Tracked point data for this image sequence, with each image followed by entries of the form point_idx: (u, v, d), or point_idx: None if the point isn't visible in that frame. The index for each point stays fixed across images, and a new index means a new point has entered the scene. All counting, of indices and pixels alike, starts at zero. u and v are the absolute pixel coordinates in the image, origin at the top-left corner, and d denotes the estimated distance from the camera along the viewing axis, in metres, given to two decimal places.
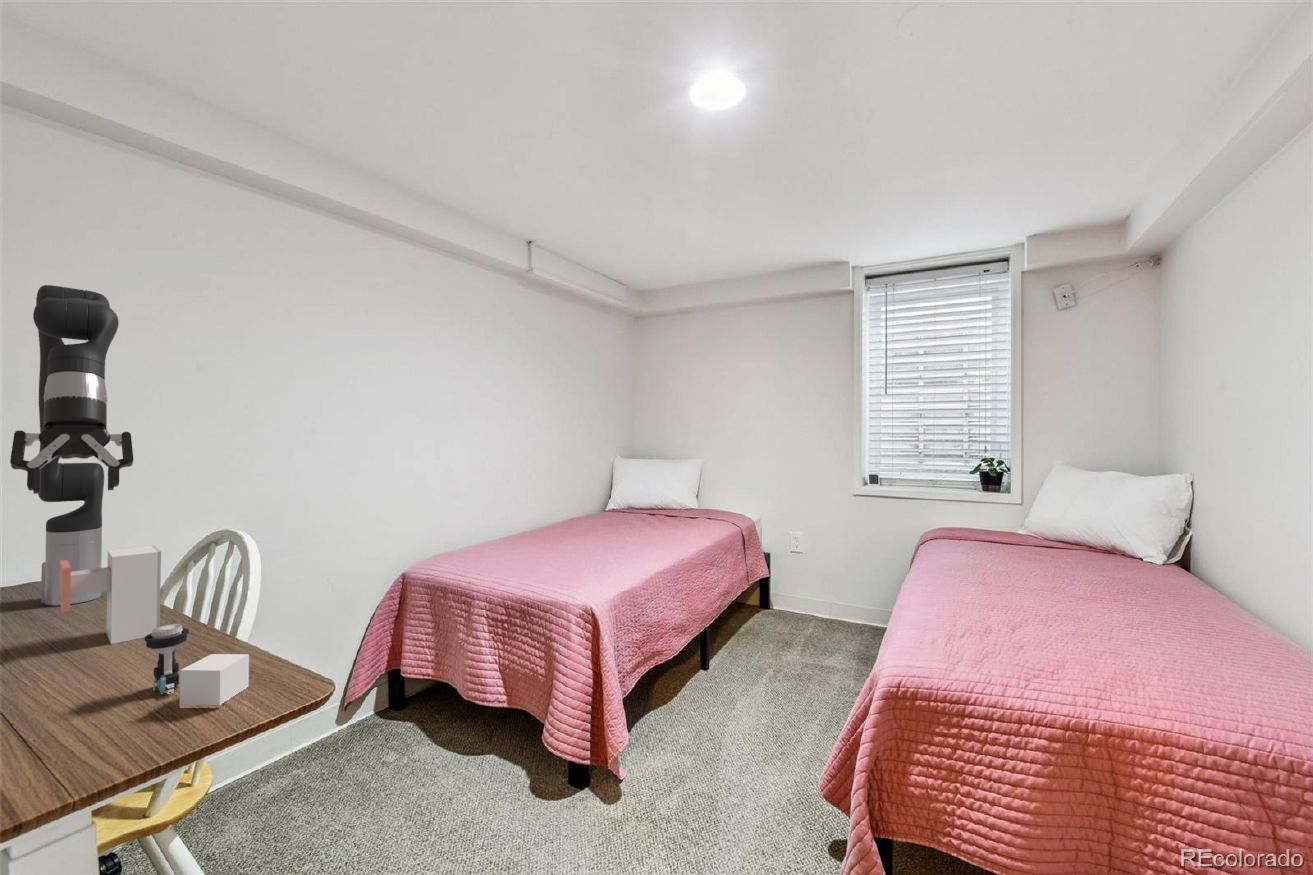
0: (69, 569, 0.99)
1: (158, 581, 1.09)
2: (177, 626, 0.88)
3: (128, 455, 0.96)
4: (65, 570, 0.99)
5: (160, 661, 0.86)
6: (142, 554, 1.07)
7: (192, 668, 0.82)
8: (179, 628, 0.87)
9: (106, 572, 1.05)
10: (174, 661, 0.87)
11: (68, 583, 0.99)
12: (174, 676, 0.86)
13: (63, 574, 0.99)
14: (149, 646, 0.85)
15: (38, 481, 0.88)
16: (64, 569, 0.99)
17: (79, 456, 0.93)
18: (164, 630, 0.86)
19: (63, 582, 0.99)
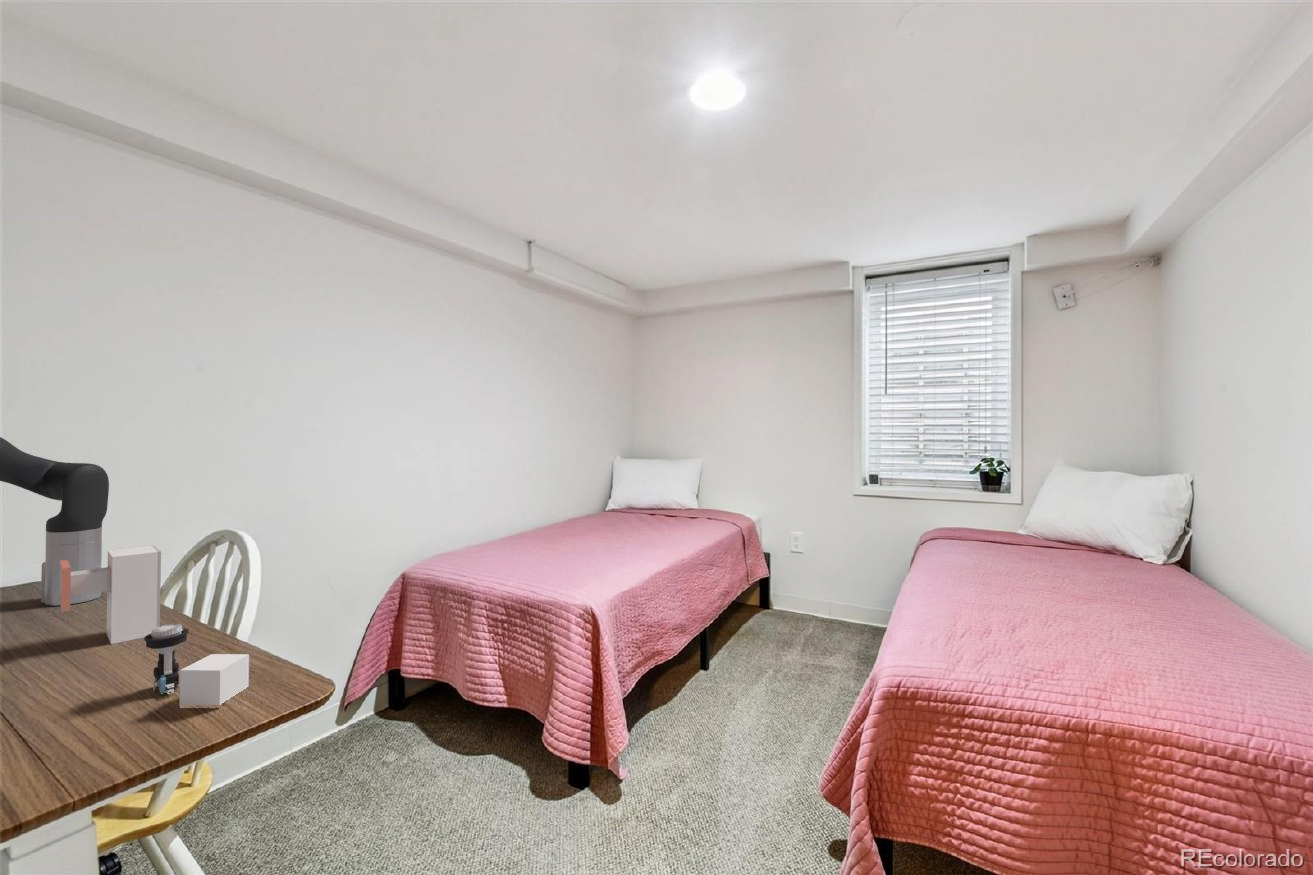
0: (69, 569, 0.99)
1: (158, 581, 1.09)
2: (177, 626, 0.88)
3: None
4: (65, 570, 0.99)
5: (160, 661, 0.86)
6: (142, 554, 1.07)
7: (192, 667, 0.82)
8: (179, 628, 0.87)
9: (106, 572, 1.05)
10: (174, 661, 0.87)
11: (68, 583, 0.99)
12: (174, 676, 0.86)
13: (63, 574, 0.99)
14: (149, 646, 0.85)
15: None
16: (64, 569, 0.99)
17: None
18: (164, 630, 0.86)
19: (63, 582, 0.99)
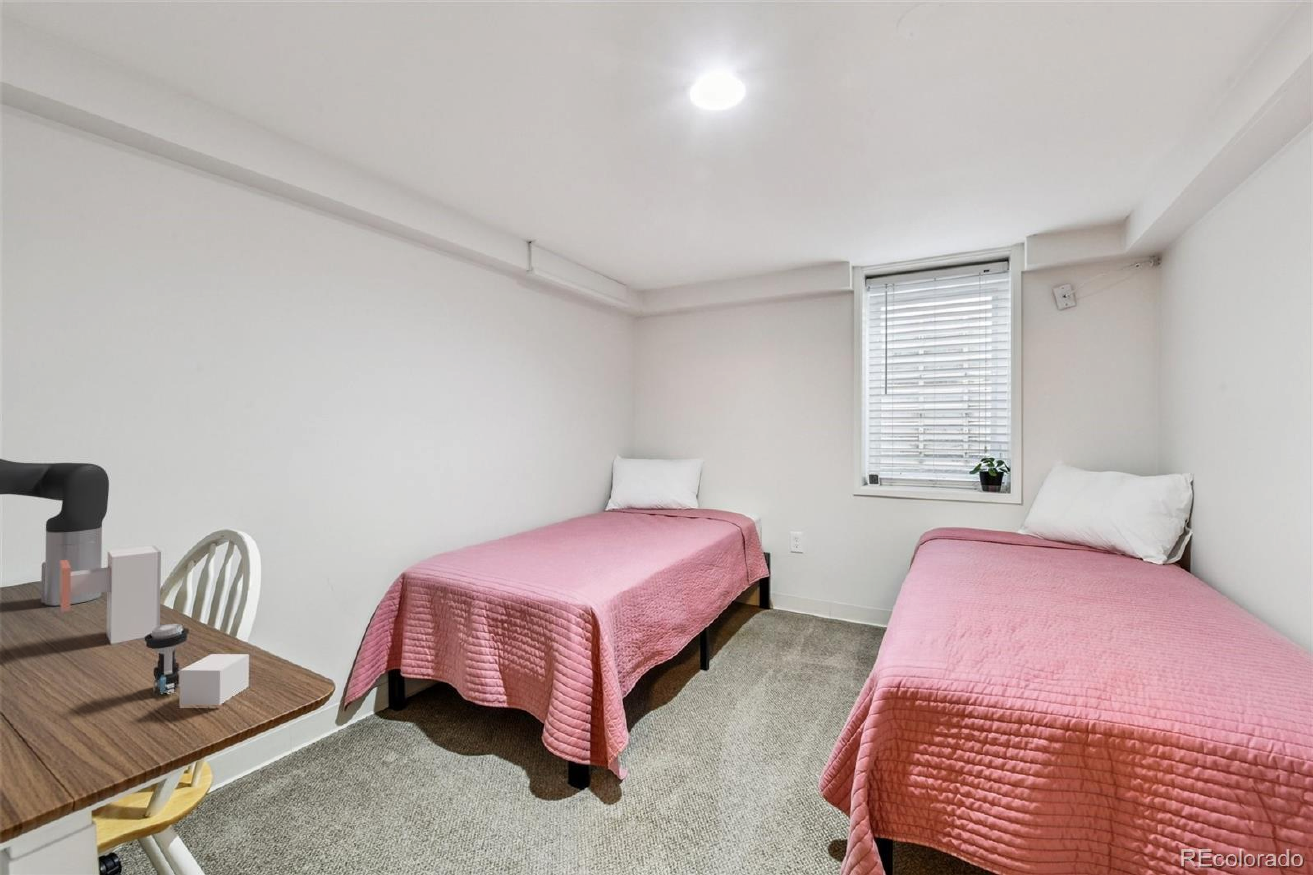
0: (69, 569, 0.99)
1: (158, 581, 1.09)
2: (177, 626, 0.88)
3: None
4: (65, 570, 0.99)
5: (160, 661, 0.86)
6: (142, 554, 1.07)
7: (192, 668, 0.82)
8: (179, 628, 0.87)
9: (106, 572, 1.05)
10: (174, 661, 0.87)
11: (68, 583, 0.99)
12: (174, 676, 0.86)
13: (63, 574, 0.99)
14: (149, 646, 0.85)
15: None
16: (64, 569, 0.99)
17: None
18: (164, 630, 0.86)
19: (63, 582, 0.99)
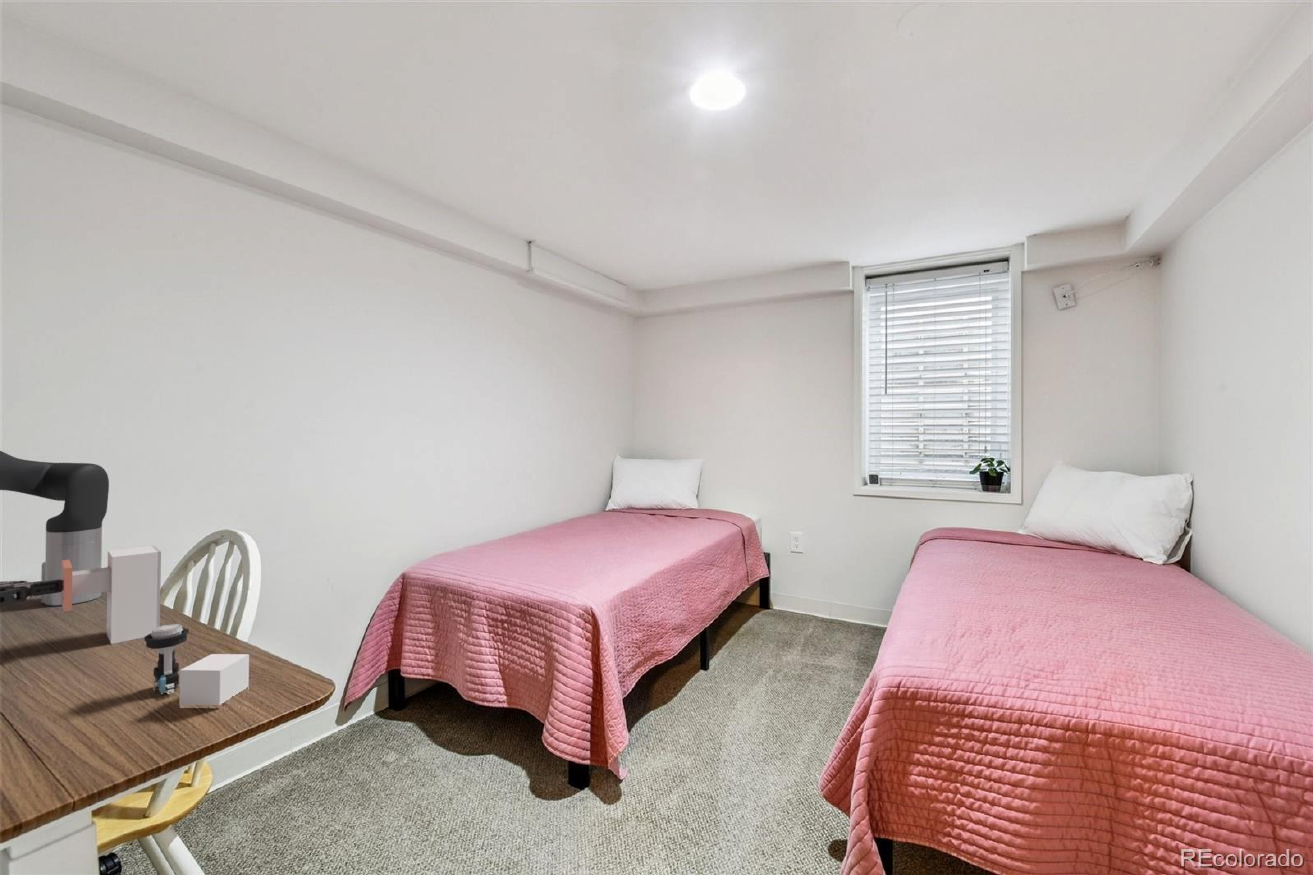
0: (71, 569, 1.00)
1: (158, 581, 1.09)
2: (177, 626, 0.88)
3: None
4: (67, 570, 0.99)
5: (160, 661, 0.86)
6: (142, 554, 1.07)
7: (192, 667, 0.82)
8: (179, 628, 0.87)
9: (108, 572, 1.05)
10: (174, 661, 0.87)
11: (70, 583, 1.00)
12: (174, 676, 0.86)
13: (65, 574, 0.99)
14: (149, 646, 0.85)
15: None
16: (66, 569, 0.99)
17: None
18: (164, 630, 0.86)
19: (65, 582, 0.99)
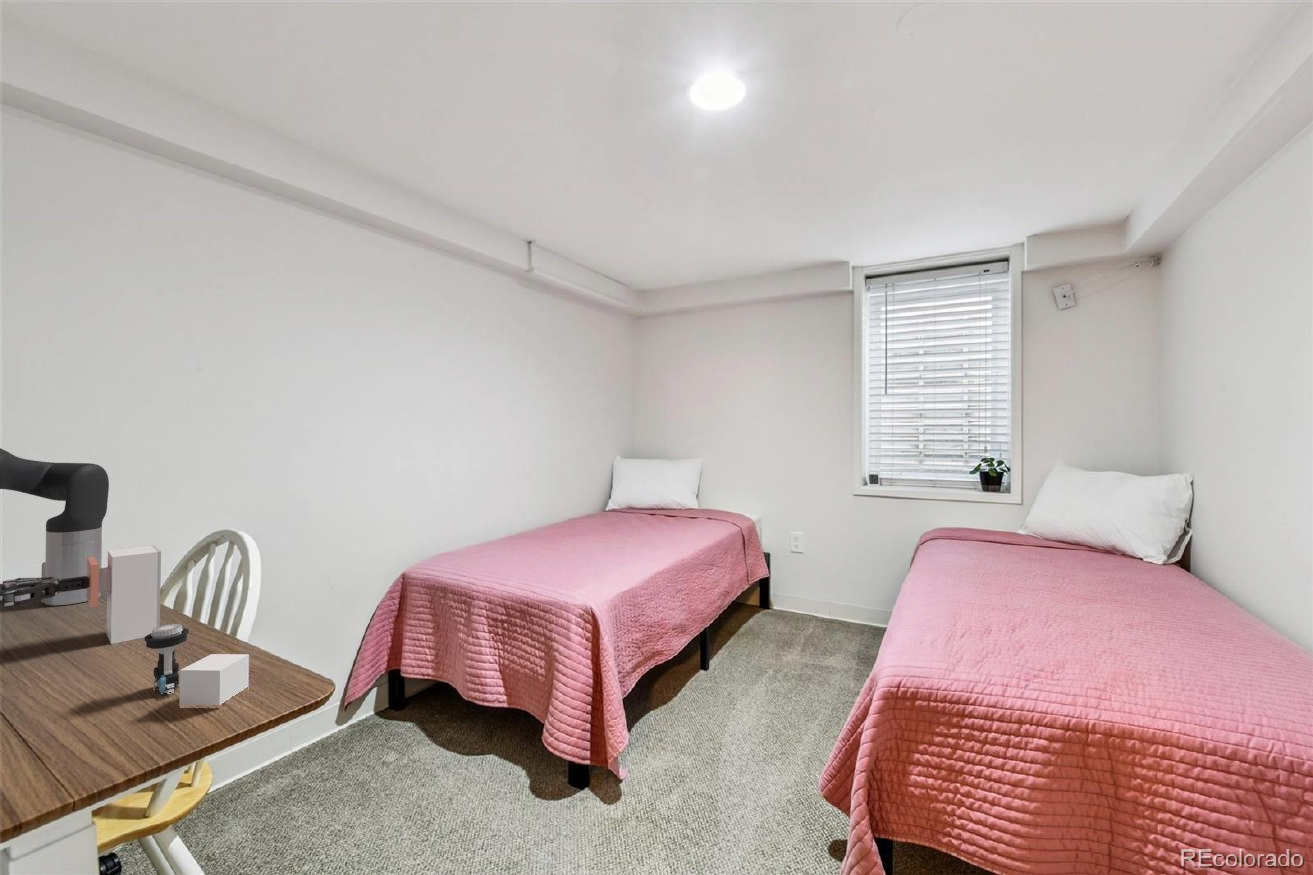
0: (97, 566, 1.02)
1: (158, 581, 1.09)
2: (177, 626, 0.88)
3: None
4: (93, 567, 1.02)
5: (160, 661, 0.86)
6: (142, 554, 1.07)
7: (192, 667, 0.82)
8: (179, 628, 0.87)
9: None
10: (174, 661, 0.87)
11: (96, 579, 1.02)
12: (174, 676, 0.86)
13: (91, 570, 1.02)
14: (149, 646, 0.85)
15: None
16: (92, 566, 1.02)
17: None
18: (164, 630, 0.86)
19: (91, 578, 1.02)
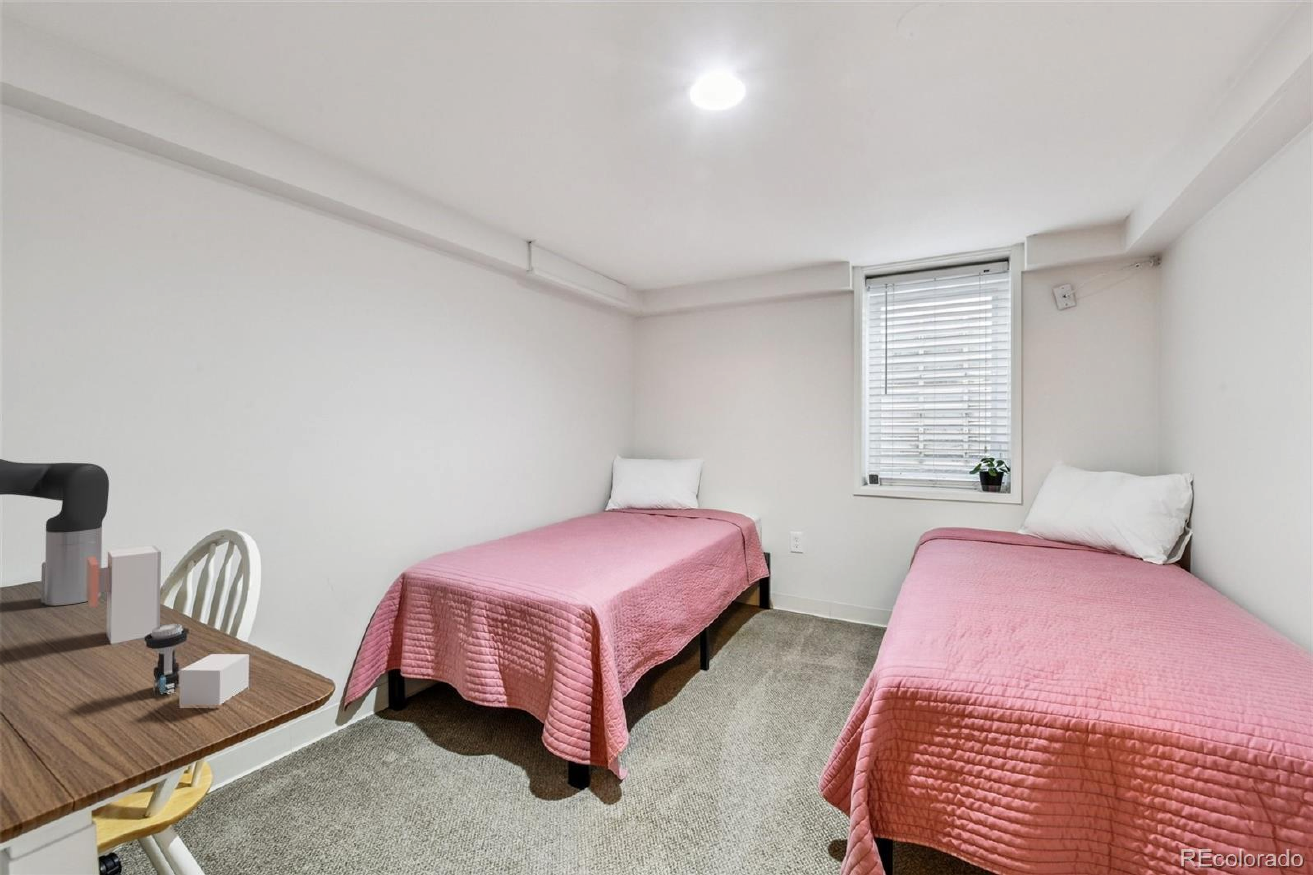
0: (97, 566, 1.02)
1: (158, 581, 1.09)
2: (177, 626, 0.88)
3: None
4: (93, 567, 1.02)
5: (160, 661, 0.86)
6: (142, 554, 1.07)
7: (192, 667, 0.82)
8: (179, 628, 0.87)
9: None
10: (174, 661, 0.87)
11: (96, 579, 1.02)
12: (174, 676, 0.86)
13: (91, 570, 1.02)
14: (149, 646, 0.85)
15: None
16: (92, 566, 1.02)
17: None
18: (164, 630, 0.86)
19: (91, 578, 1.02)
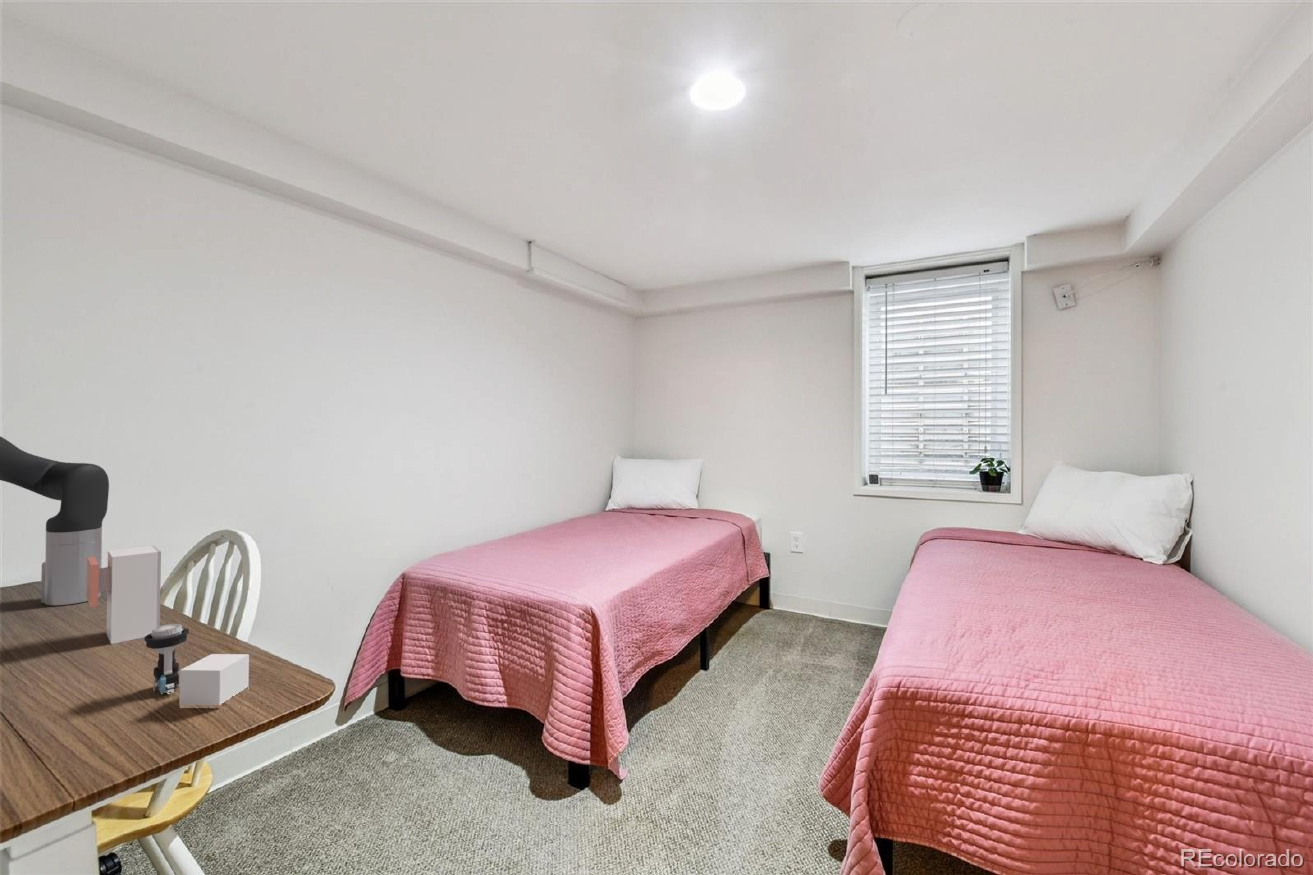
0: (97, 566, 1.02)
1: (158, 581, 1.09)
2: (177, 626, 0.88)
3: None
4: (93, 567, 1.02)
5: (160, 661, 0.86)
6: (142, 554, 1.07)
7: (192, 667, 0.82)
8: (179, 628, 0.87)
9: None
10: (174, 661, 0.87)
11: (96, 579, 1.02)
12: (174, 676, 0.86)
13: (91, 570, 1.02)
14: (149, 646, 0.85)
15: None
16: (92, 566, 1.02)
17: None
18: (164, 630, 0.86)
19: (91, 578, 1.02)
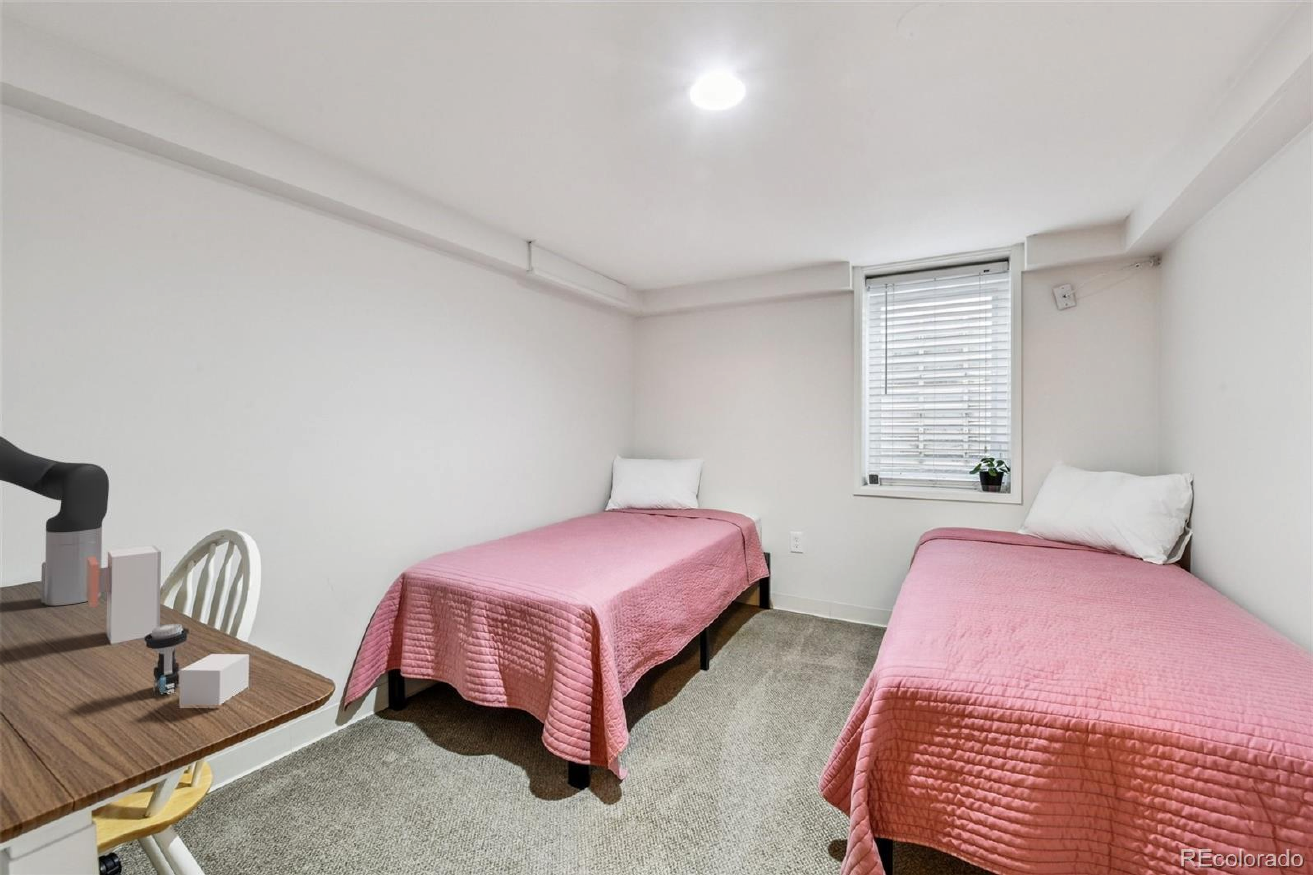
0: (97, 566, 1.02)
1: (158, 581, 1.09)
2: (177, 626, 0.88)
3: None
4: (93, 567, 1.02)
5: (160, 661, 0.86)
6: (142, 554, 1.07)
7: (192, 668, 0.82)
8: (179, 628, 0.87)
9: None
10: (174, 661, 0.87)
11: (96, 579, 1.02)
12: (174, 676, 0.86)
13: (91, 570, 1.02)
14: (149, 646, 0.85)
15: None
16: (92, 566, 1.02)
17: None
18: (164, 630, 0.86)
19: (91, 578, 1.02)
